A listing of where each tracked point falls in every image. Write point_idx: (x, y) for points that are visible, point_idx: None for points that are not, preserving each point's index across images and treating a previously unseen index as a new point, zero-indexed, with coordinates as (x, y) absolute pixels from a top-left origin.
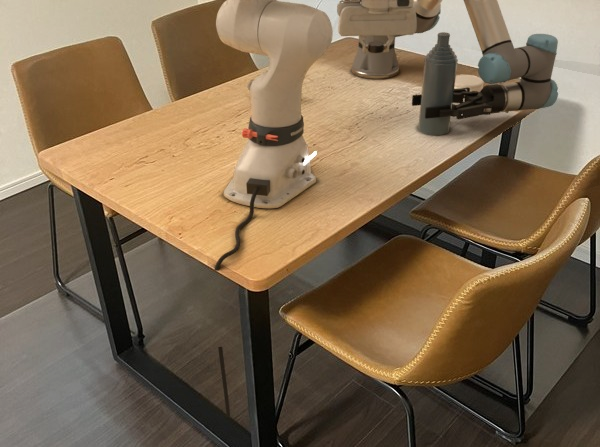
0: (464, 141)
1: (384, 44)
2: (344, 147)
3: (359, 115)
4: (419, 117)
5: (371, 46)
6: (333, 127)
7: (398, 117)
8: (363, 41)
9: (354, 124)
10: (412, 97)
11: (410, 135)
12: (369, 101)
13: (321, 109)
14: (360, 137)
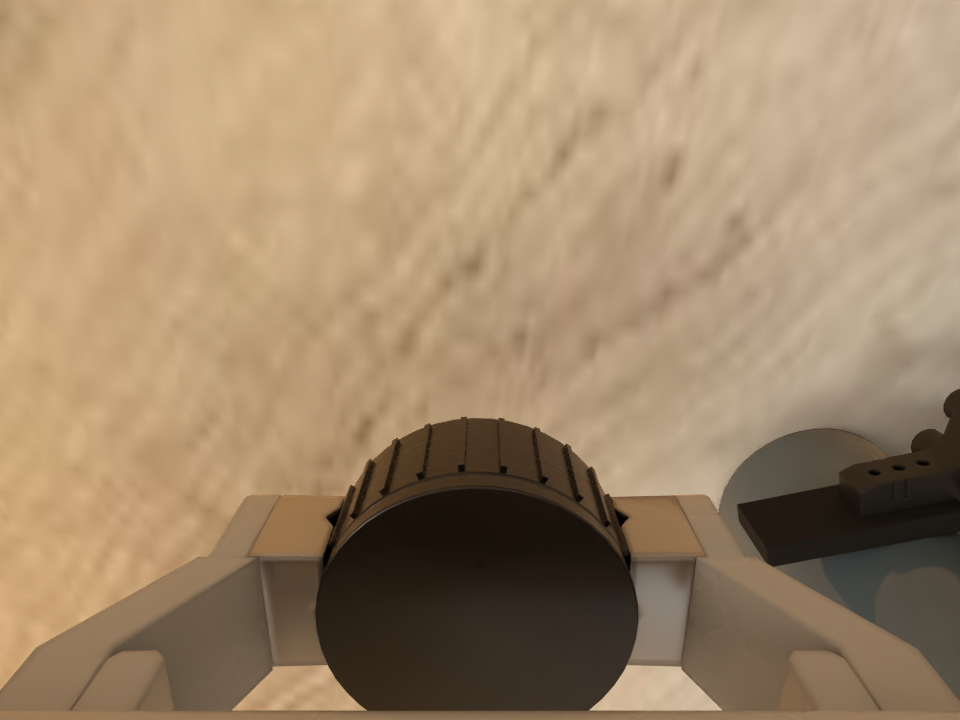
0: None
1: (654, 592)
2: (296, 687)
3: (385, 295)
4: (746, 554)
5: (380, 702)
6: (222, 470)
7: (643, 337)
8: (188, 710)
9: (349, 433)
10: (760, 540)
11: None
12: (479, 7)
13: (104, 172)
14: None
